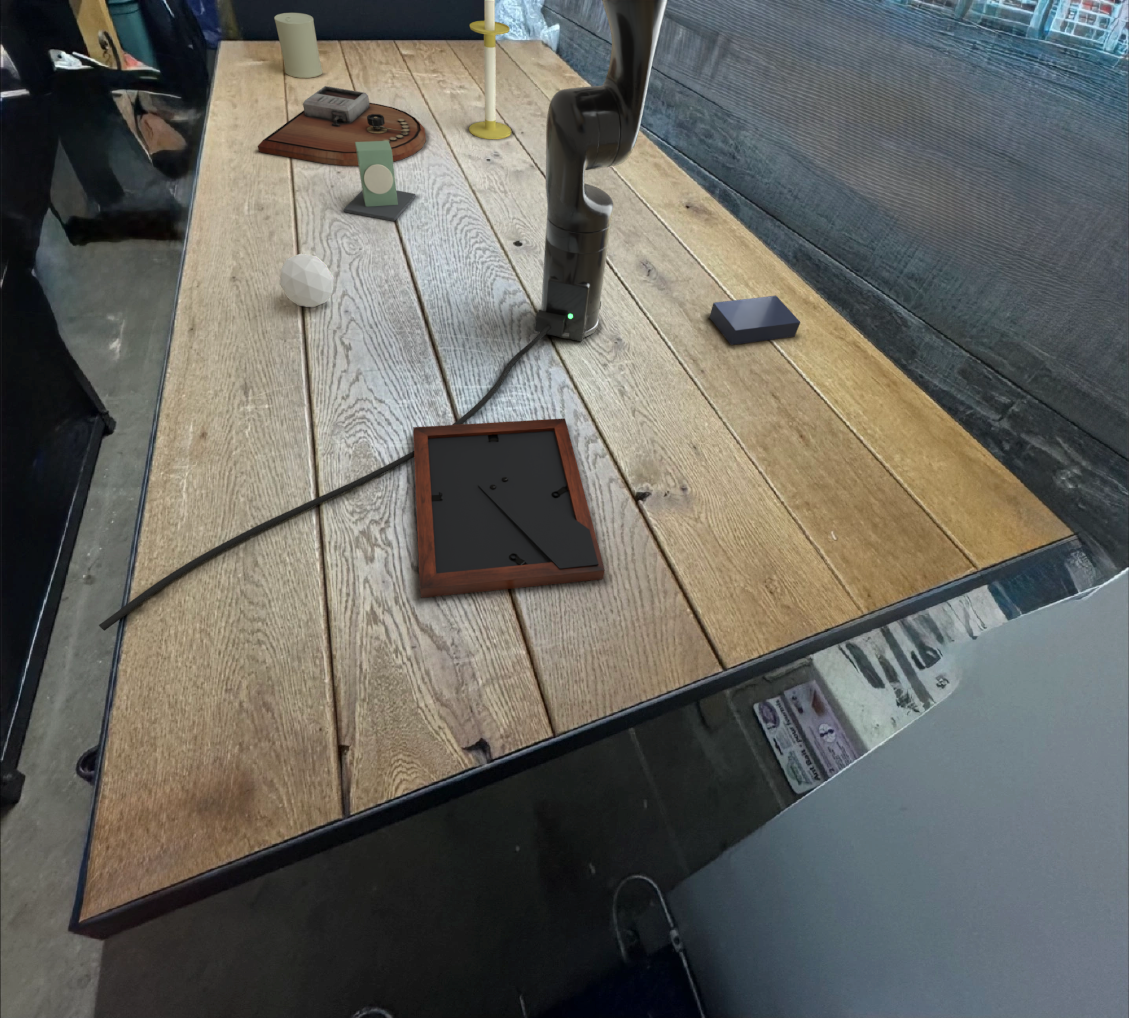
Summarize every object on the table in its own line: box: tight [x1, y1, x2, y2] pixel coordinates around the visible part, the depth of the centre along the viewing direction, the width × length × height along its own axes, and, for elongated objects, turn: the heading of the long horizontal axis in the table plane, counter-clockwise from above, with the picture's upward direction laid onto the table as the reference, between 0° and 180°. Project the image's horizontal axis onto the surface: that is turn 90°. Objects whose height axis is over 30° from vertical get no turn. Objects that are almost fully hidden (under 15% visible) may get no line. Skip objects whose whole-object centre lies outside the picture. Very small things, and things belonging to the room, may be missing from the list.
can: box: [274, 12, 324, 79], centre depth 164 cm, size 9×9×12 cm
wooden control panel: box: [257, 85, 427, 167], centre depth 143 cm, size 31×5×30 cm
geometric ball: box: [279, 253, 335, 308], centre depth 100 cm, size 8×8×8 cm
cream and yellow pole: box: [468, 0, 512, 140], centre depth 140 cm, size 10×10×38 cm
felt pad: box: [343, 189, 416, 222], centre depth 126 cm, size 11×10×1 cm
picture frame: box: [412, 417, 606, 599], centre depth 79 cm, size 20×2×25 cm
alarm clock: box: [355, 141, 398, 207], centre depth 122 cm, size 10×6×10 cm
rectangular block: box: [709, 295, 801, 346], centre depth 108 cm, size 8×12×3 cm, turn 108°
